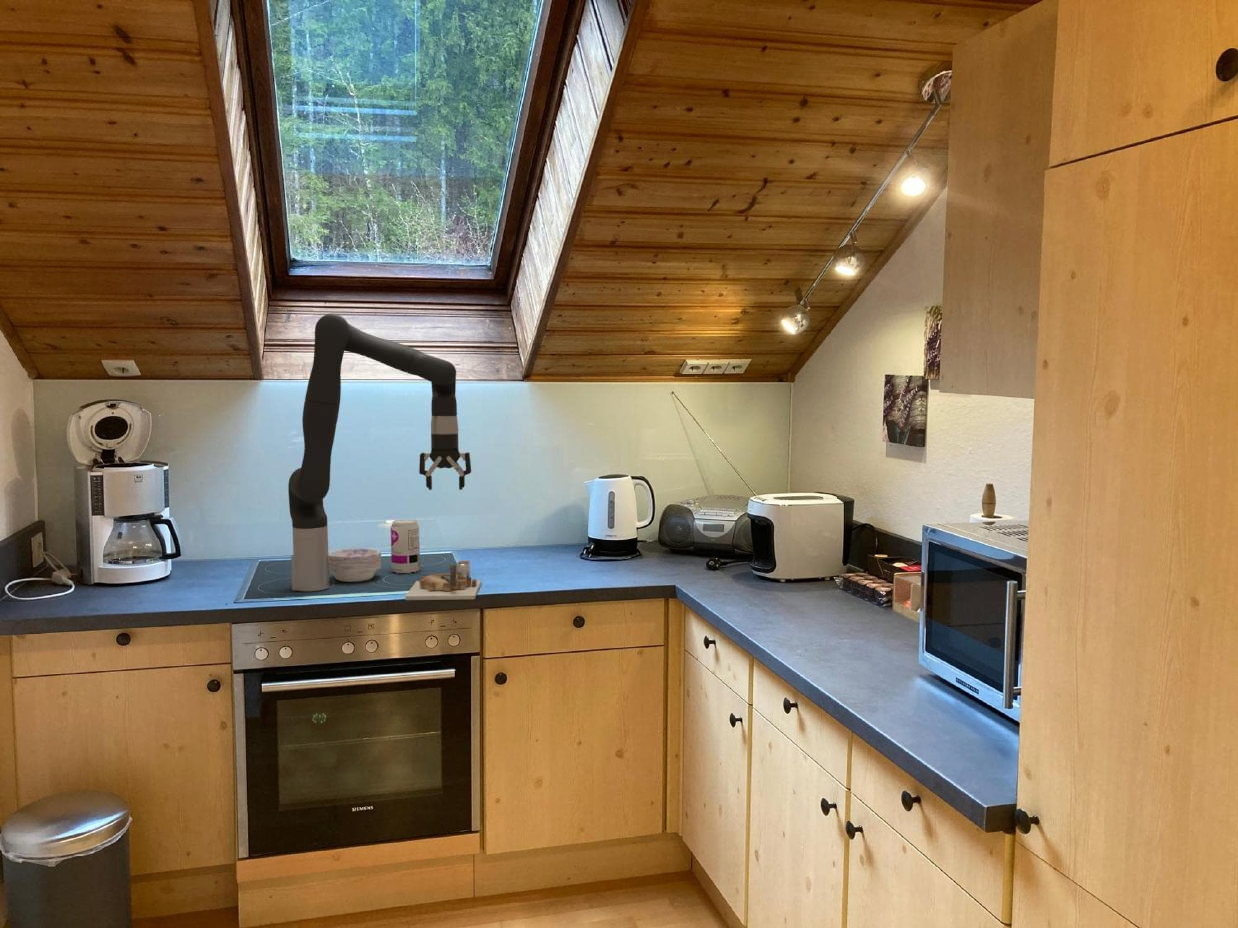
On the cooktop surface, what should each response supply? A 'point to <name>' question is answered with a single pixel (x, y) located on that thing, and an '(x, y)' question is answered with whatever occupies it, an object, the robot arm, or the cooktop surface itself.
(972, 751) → the cooktop surface
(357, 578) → the paper bowls
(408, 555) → the supplement can
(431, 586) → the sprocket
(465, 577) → the link
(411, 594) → the plate
